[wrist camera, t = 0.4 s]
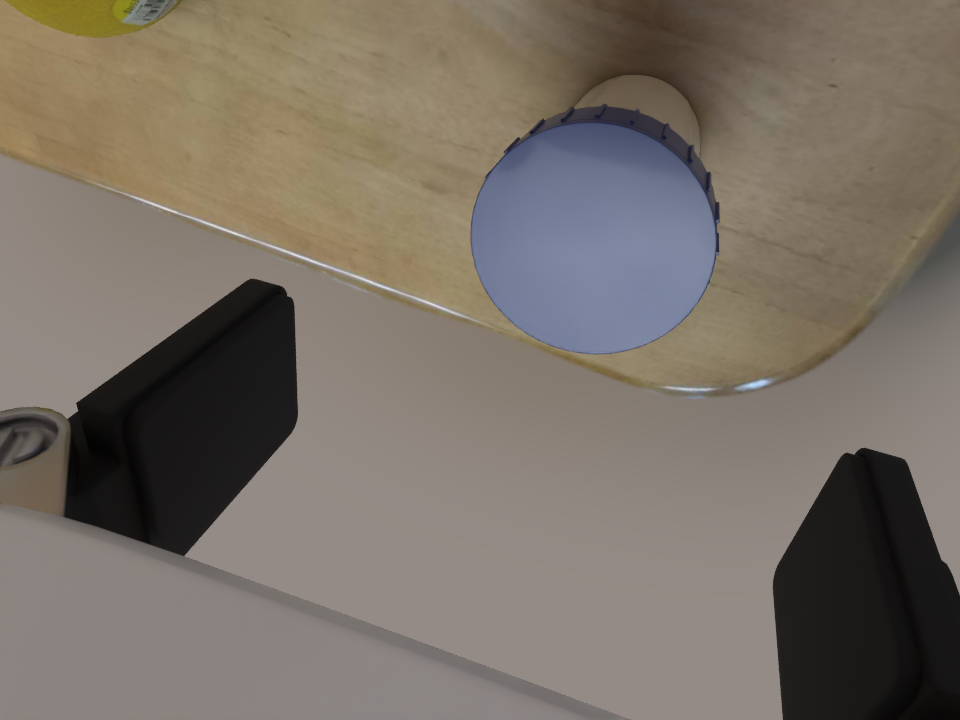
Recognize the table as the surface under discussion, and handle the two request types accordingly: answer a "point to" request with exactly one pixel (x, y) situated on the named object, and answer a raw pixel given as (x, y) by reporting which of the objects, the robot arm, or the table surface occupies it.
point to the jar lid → (596, 230)
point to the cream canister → (648, 103)
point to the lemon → (96, 15)
